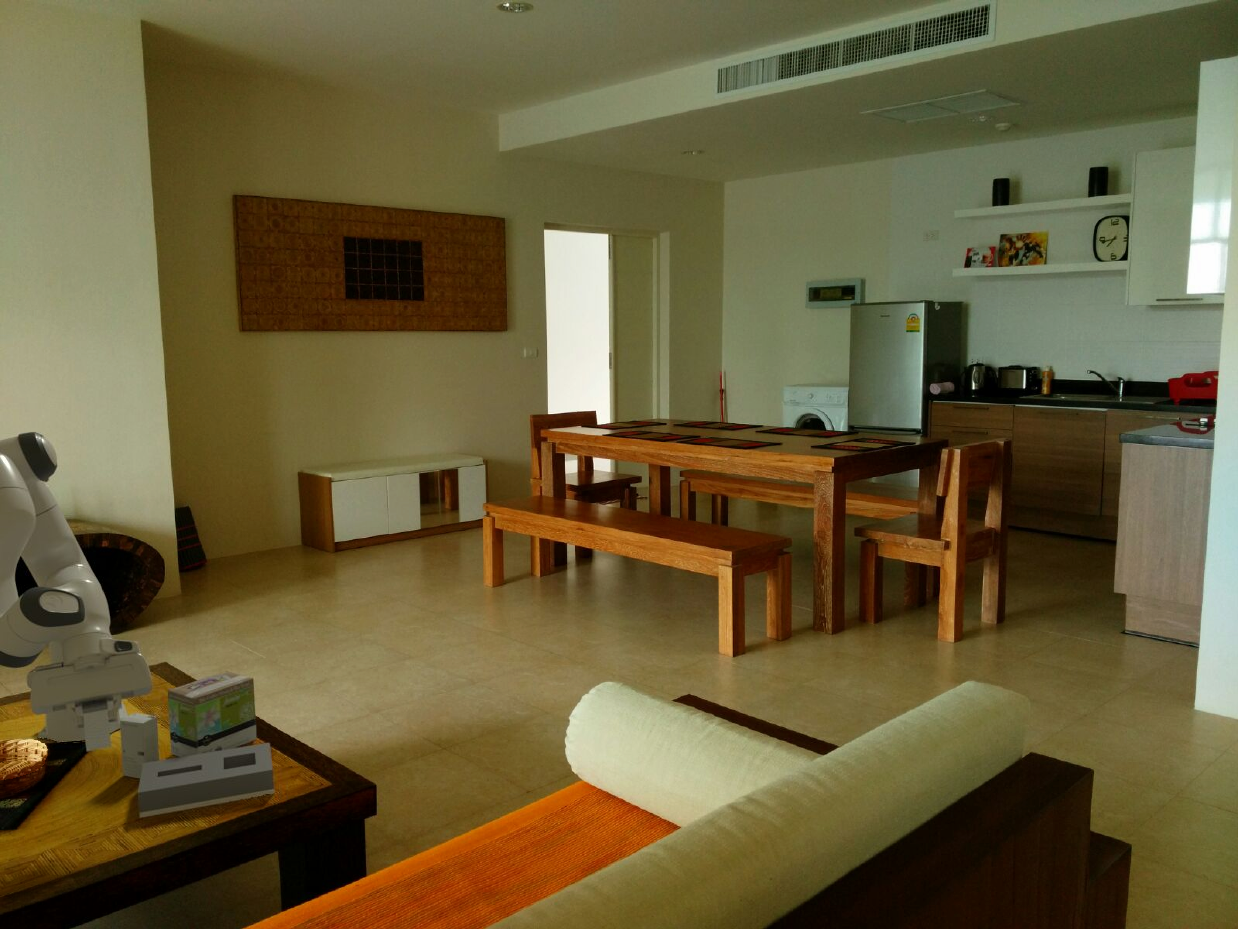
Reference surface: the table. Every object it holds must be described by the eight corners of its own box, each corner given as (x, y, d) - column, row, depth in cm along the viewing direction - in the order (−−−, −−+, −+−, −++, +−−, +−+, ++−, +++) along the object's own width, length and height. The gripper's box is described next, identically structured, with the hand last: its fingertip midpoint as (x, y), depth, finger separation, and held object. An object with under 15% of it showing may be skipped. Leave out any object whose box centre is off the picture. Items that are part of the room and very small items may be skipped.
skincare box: (122, 776, 203) (116, 720, 201) (138, 767, 207) (133, 712, 206) (146, 780, 201) (141, 723, 200) (162, 770, 205) (157, 715, 204)
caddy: (145, 786, 198) (143, 763, 197) (271, 765, 207) (269, 742, 206) (139, 817, 185) (137, 792, 185) (274, 793, 194) (272, 769, 193)
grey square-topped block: (85, 743, 183) (81, 702, 182) (110, 738, 185) (106, 698, 184) (86, 751, 179) (82, 709, 178) (111, 746, 182) (107, 705, 180)
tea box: (199, 765, 208) (193, 698, 206) (170, 755, 213) (164, 689, 211) (258, 739, 220) (254, 676, 218) (230, 730, 226) (225, 668, 224)
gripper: (24, 660, 181) (29, 728, 174) (146, 640, 191) (156, 704, 184) (27, 676, 185) (32, 744, 178) (146, 656, 195) (156, 719, 188)
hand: (96, 723), depth 181 cm, fingers closed on grey square-topped block, 4 cm apart
